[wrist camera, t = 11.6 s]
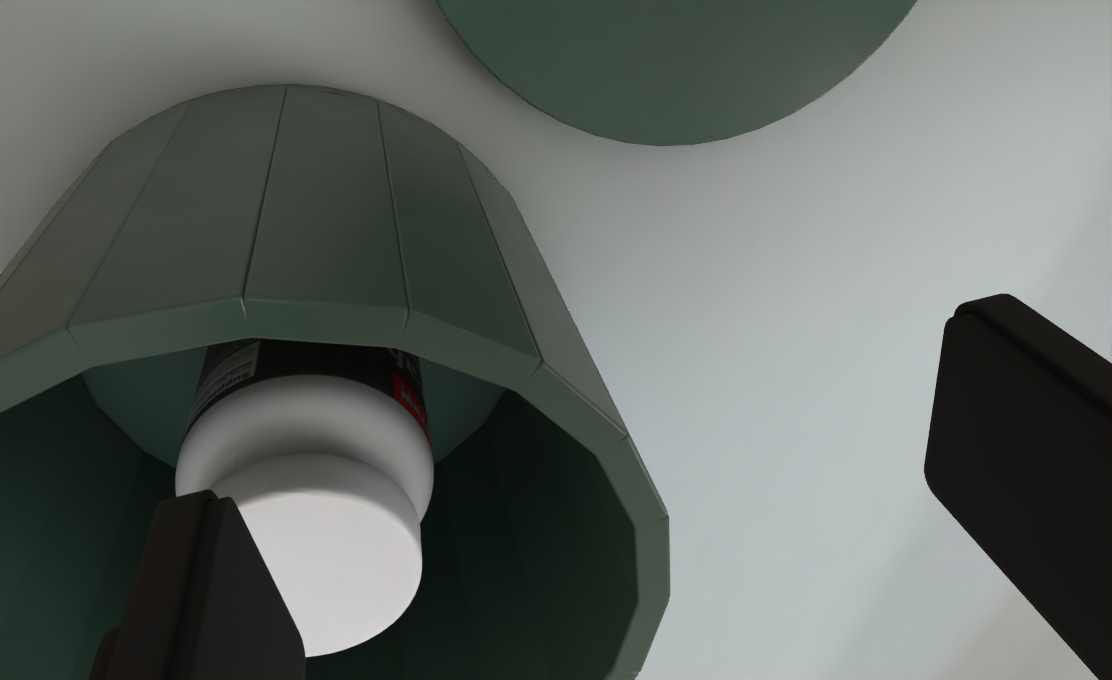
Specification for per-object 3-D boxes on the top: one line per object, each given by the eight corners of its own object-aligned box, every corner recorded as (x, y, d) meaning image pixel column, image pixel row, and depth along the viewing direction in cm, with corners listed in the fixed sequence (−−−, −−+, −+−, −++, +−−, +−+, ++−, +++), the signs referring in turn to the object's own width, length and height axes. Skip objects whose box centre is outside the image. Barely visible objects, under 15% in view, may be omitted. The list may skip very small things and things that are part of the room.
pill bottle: (451, 314, 25) (508, 545, 17) (341, 438, 26) (343, 707, 18) (288, 206, 22) (258, 422, 14) (175, 352, 24) (87, 626, 15)
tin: (589, 130, 24) (775, 341, 14) (497, 507, 30) (576, 834, 20) (18, 35, 19) (-330, 244, 9) (59, 501, 26) (-116, 914, 16)
